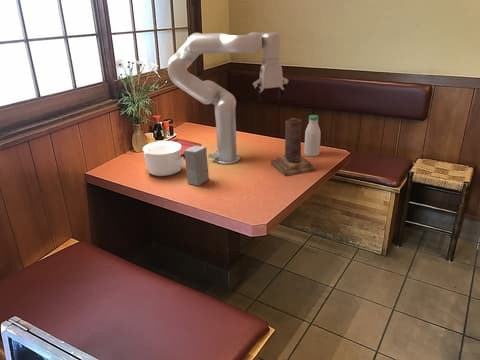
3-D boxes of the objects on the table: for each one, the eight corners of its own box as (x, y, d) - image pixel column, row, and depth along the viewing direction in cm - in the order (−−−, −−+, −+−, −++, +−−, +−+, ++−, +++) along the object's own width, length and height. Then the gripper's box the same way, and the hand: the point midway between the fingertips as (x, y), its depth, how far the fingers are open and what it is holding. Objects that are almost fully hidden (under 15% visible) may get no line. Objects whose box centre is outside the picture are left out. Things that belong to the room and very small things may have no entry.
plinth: (284, 176, 188) (285, 169, 186) (270, 163, 202) (270, 156, 200) (316, 170, 193) (316, 163, 191) (300, 158, 206) (300, 151, 205)
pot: (134, 174, 194) (130, 150, 189) (157, 161, 208) (154, 138, 203) (173, 182, 185) (170, 157, 180) (194, 168, 199) (192, 144, 194)
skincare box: (198, 186, 180) (196, 152, 174) (185, 183, 184) (182, 150, 177) (210, 179, 187) (207, 146, 180) (197, 176, 190) (194, 143, 184)
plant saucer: (202, 149, 223) (202, 143, 221) (180, 160, 209) (180, 154, 208) (177, 143, 232) (176, 137, 231) (154, 153, 218) (154, 148, 217)
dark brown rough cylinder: (290, 164, 191) (291, 122, 182) (281, 159, 197) (282, 118, 188) (303, 161, 194) (305, 119, 186) (294, 156, 200) (296, 115, 192)
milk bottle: (319, 157, 207) (321, 118, 198) (303, 156, 208) (305, 118, 200) (319, 151, 214) (321, 114, 205) (304, 151, 215) (306, 113, 207)
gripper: (256, 64, 181) (256, 103, 188) (292, 61, 186) (291, 99, 193) (250, 62, 187) (250, 99, 194) (284, 58, 192) (284, 95, 199)
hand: (270, 99), depth 194 cm, fingers open, 9 cm apart
